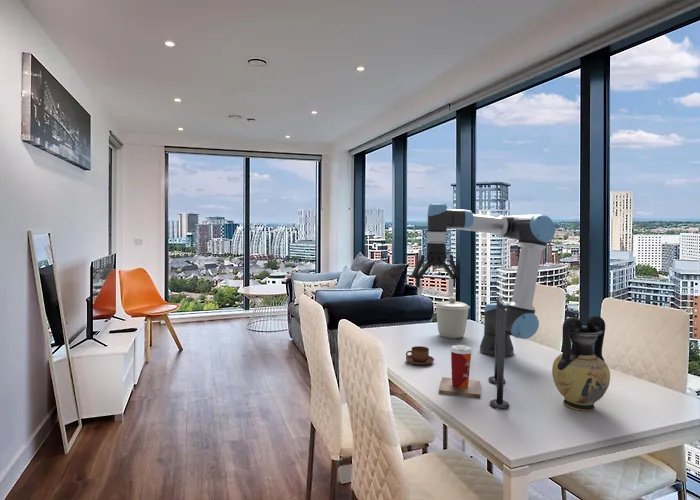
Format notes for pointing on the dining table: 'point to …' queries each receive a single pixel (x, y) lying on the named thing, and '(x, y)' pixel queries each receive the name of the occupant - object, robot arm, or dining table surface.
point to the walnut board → (470, 391)
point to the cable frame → (499, 357)
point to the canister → (451, 318)
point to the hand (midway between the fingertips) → (435, 295)
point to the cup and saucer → (419, 356)
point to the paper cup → (460, 365)
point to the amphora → (582, 364)
